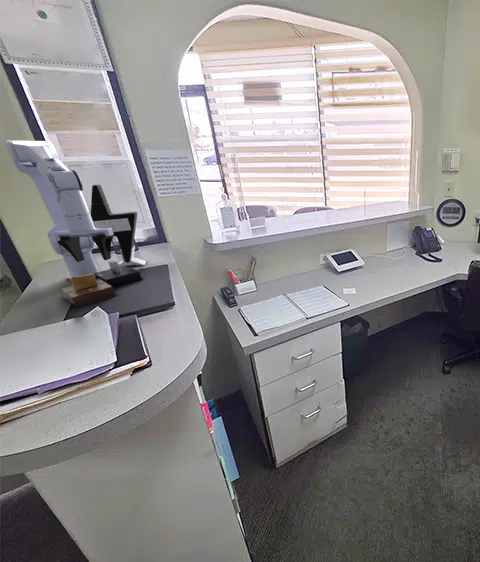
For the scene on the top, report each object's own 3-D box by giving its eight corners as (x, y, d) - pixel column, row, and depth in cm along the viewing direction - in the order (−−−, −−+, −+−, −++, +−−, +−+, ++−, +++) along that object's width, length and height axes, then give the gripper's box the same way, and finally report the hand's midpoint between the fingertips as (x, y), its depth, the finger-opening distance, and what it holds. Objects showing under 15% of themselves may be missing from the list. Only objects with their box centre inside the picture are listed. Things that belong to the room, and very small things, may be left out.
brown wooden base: (64, 298, 91) (59, 288, 90) (102, 287, 98) (99, 278, 97) (75, 307, 84) (71, 297, 83) (116, 295, 91) (112, 285, 90)
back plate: (96, 281, 103) (93, 272, 102) (128, 273, 110) (125, 264, 109) (109, 288, 97) (105, 279, 96) (142, 279, 104) (139, 270, 103)
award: (101, 271, 113) (69, 186, 102) (105, 267, 118) (74, 185, 107) (150, 264, 120) (125, 183, 109) (152, 260, 124) (128, 182, 113)
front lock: (96, 284, 92) (91, 272, 91) (97, 284, 92) (93, 273, 90) (74, 289, 88) (69, 277, 87) (75, 290, 88) (70, 278, 86)
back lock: (111, 271, 103) (107, 260, 102) (115, 270, 104) (112, 259, 103) (117, 273, 101) (113, 262, 99) (121, 272, 102) (117, 261, 100)
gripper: (36, 218, 84) (57, 265, 89) (93, 216, 86) (111, 262, 91) (58, 214, 91) (76, 258, 96) (111, 212, 92) (126, 255, 97)
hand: (94, 260), depth 94 cm, fingers open, 7 cm apart
